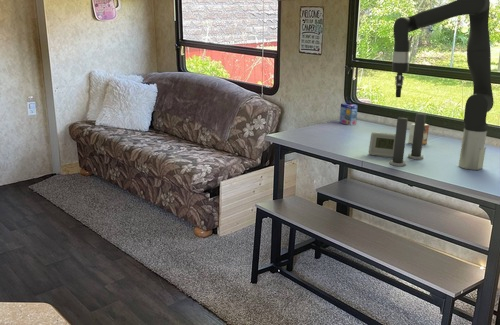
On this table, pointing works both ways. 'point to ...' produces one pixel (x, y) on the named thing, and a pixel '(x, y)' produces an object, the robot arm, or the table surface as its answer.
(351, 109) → the ink cartridge box
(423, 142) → the small box
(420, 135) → the post right
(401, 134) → the post left
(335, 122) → the table surface
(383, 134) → the digital clock
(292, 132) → the table surface
